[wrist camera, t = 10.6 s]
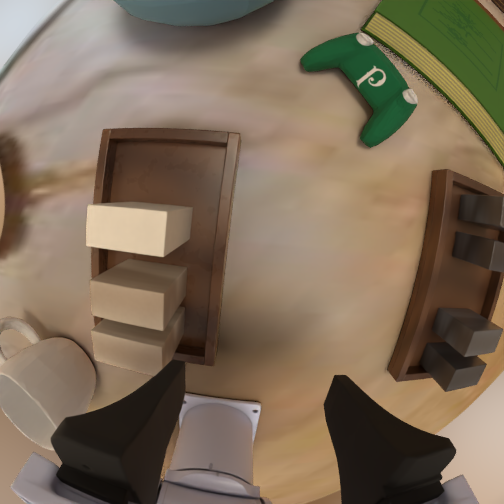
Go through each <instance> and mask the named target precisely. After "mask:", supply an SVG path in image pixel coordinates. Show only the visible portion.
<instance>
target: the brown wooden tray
mask: <svg viewBox="0 0 504 504" xmlns="http://www.w3.org/2000/svg"><path fill="white" fill-rule="evenodd" d="M240 146H241V137H240V134H239V133H231V132H229V133H228V132H222V131H209V130H194V129H171V128H118V129H103V132H102V138H101V144H100V150H99V156H98V163H97V171H96V180H95V189H94V200H93V204H100V203H116V202H143V203H154V204H165V205H175V206H185V207H193V212H192V221H191V232H190V239H189V240H188V241H186V242H185V243H183V244H182V245H180V246H179V247H178V248H176V249H175V250H173V251H172V252H170V253H169V254H167V255H166V256H164V257H158V256H151V255H144V254H137V253H130V252H123V251H116V250H110V249H103V248H96V247H91V274H92V279H91V280H90V298H91V312H92V315H93V316H94V322H95V327H94V328H93V329H92V330H91V336H92V343H93V350H94V357H95V361H98V362H102V363H105V364H109V365H112V366H116V367H119V368H123V369H127V370H131V371H135V372H139V373H143V374H147V375H151V376H155V375H156V374H157V373H158V372H159V371H161V370H162V369H163V368H164V367H165V366H166V365H167V364H168V363H169V362H170V361H171V360H173V359H174V360H180V361H185V362H188V363H194V364H200V365H208V366H214V363H215V359H216V354H217V345H218V334H219V324H220V314H221V304H222V294H223V284H224V275H225V266H226V257H227V248H228V240H229V231H230V223H231V215H232V207H233V199H234V191H235V183H236V175H237V168H238V161H239V153H240Z"/></svg>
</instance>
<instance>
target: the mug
mask: <svg viewBox="0 0 504 504" xmlns="http://www.w3.org/2000/svg"><path fill="white" fill-rule="evenodd" d="M7 329H14V330H16V331H18V332H20V333H22V334H23V335H24V336H25V337H27V339H28V340H29V341H30V342H31V343H32V345H31V346H29V347H27V348H25V349H23V350H22V351H20V352H19V353H17V354H16V355H14V356H12V357H11V358H9V359H7V358H6V357H5V356H4V354H3V352H2V350H1V347H0V407H1V408H2V410H3V411H4V413H5V414H6V415H7V417H8V418H9V419H10V420H11V422H12V423H13V424H14V425H15V426H16V427H17V428H18V429H19V430H20V431H21V432H22V433H23V434H24V435H25V436H26V437H28V438H29V439H30V440H32V441H33V442H35V443H36V444H38V445H40V446H42V447H43V448H46V449H49V450H54V448H53V446H52V444H51V439H50V438H51V436H52V435H53V433H54V432H55V430H56V429H57V427H58V426H59V425H60V423H61V422H62V421H63V420H64V419H65V417H70V416H75V415H80V414H85V413H86V411H87V409H88V406H89V404H90V402H91V400H92V397H93V394H94V391H95V386H96V373H95V369H94V366H93V365H92V363H91V361H90V359H89V357H88V356H87V355H86V354H85V352H84V351H83V350H82V349H81V348H80V347H79V346H78V345H77V344H76V343H75V342H73V341H71V340H69V339H66V338H62V337H60V338H56V337H53V338H49V339H45V340H42V341H41V339H40V337H39V336H38V334H37V332H36V331H35V330H34V329H33V328H32V327H31V326H30V325H29V324H28V323H26V322H25V321H23V320H22V319H19V318H15V317H5V318H2V319H0V334H1V332H2V331H4V330H7Z"/></svg>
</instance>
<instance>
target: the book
mask: <svg viewBox="0 0 504 504" xmlns="http://www.w3.org/2000/svg"><path fill="white" fill-rule="evenodd" d="M492 1H493V2H494V3H495V4H496V5H497V6H498V7H499V8H500V9H501V10H502V12H503V13H504V0H492Z"/></svg>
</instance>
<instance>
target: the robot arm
mask: <svg viewBox="0 0 504 504" xmlns="http://www.w3.org/2000/svg"><path fill="white" fill-rule="evenodd" d="M183 400H185V401H183ZM254 410H256V411H254ZM324 410H325V417H326V422H327V426H328V429H329V433H330V436H331V440H332V443H333V446H334V450H335V453H336V457H337V461H338V468H339V475H340V485H341V500H342V504H479V503H478V501H477V499H476V497H475V495H474V493H473V492H472V490H471V488H470V486H469V484H468V483H467V481H466V479H465V477H464V476H463V475H460V476H457V477H455V478H453V479H451V480H449V481H447V482H445V483H444V484H442V485H441V483H440V480H441V479H442V475H441V471H443V469H444V468H445V467H446V466H447V465H448V464H449V463H450V462H451V460H452V459H453V458H454V456H455V454H456V449H455V447H454V446H453V444H452V442H451V441H450V439H449V438H445V437H441V436H438V435H434V434H431V433H428V432H425V431H422V430H420V429H417V428H415V427H413V426H411V425H409V424H407V423H405V422H403V421H401V420H400V419H398V418H397V417H395V416H393V415H392V414H390V413H389V412H387V411H386V410H385V409H383V408H382V407H381V406H380V405H378V404H377V403H376V402H375V401H374V400H372V399H371V398H370V397H369V396H368V395H367V394H366V393H365V392H363V391H362V390H361V389H360V388H359V387H358V386H357V385H356V384H355V383H354V382H353V381H352V380H351V379H350V378H349V377H347V376H346V375H334V378H333V381H332V384H331V386H330V389H329V392H328V394H327V397H326V400H325V402H324ZM260 411H261V404H260V403H258V402H249V401H239V400H230V399H222V398H214V397H208V396H201V395H195V394H189V393H185V361H180V360H174V359H173V360H171V361H170V362H169V363H168V364H167V365H166V366H165V367H164V368H163V369H162V370H161V371H159V372H158V373H157V374H156V375H155V376H154V377H153V378H151V379H150V380H149V381H148V382H147V383H145V384H144V385H143V386H141V387H140V388H139V389H137V390H136V391H134V392H133V393H131V394H130V395H128V396H126V397H125V398H123V399H121V400H119V401H117V402H115V403H113V404H111V405H108V406H106V407H104V408H101V409H98V410H95V411H92V412H89V413H85V414H80V415H75V416H70V417H65V419H64V420H63V421H62V422H61V423H60V425H59V426H58V427H57V429H56V430H55V432H54V433H53V435H52V436H51V438H50V439H51V444H52V446H53V448H54V450H55V451H56V453H57V454H58V456H59V458H60V459H61V461H62V465H61V467H60V468H59V467H58V466H57V465H55V464H54V463H53V462H51V461H49V460H47V459H46V458H44V457H42V456H41V455H39V454H37V453H35V452H33V453H32V454H31V456H30V457H29V459H28V460H27V462H26V463H25V465H24V467H23V468H22V469H21V471H20V472H19V474H18V475H17V477H16V479H15V480H14V482H13V483H12V485H11V489H12V490H13V491H14V492H15V493H16V494H17V495H18V496H19V497H20V498H21V499H22V500H23V501H24V502H25V503H26V504H272V502H271V501H270V500H269V499H268V498H266V497H260V487H259V486H253V442H254V438H255V433H256V429H257V425H258V420H259V416H260ZM178 417H179V423H180V432H179V435H178V439H177V442H176V446H175V450H174V453H173V457H172V460H171V464H170V468H169V469H167V471H166V474H165V478H164V482H162V481H163V479H162V478H160V476H161V471H162V466H163V462H164V458H165V454H166V449H167V446H168V443H169V441H170V438H171V435H172V433H173V430H174V427H175V425H176V422H177V420H178Z"/></svg>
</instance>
